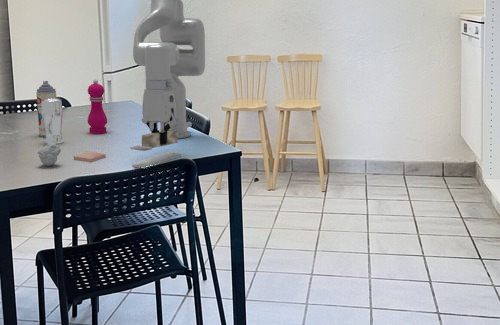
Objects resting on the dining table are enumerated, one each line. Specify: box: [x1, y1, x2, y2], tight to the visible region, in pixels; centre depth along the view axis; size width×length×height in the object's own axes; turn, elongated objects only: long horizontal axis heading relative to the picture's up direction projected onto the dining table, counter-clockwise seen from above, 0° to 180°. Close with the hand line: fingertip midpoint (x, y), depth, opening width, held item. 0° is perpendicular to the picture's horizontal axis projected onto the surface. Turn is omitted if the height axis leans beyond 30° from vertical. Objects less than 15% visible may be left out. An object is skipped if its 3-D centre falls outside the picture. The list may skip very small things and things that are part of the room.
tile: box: [73, 151, 106, 163], centre depth 209 cm, size 2×7×7 cm
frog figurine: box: [37, 143, 62, 167], centre depth 199 cm, size 6×7×7 cm
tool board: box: [131, 151, 182, 169], centre depth 206 cm, size 19×5×1 cm, turn 153°
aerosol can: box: [36, 80, 57, 138], centre depth 240 cm, size 7×7×20 cm
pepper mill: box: [87, 79, 108, 135], centre depth 246 cm, size 7×7×20 cm
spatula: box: [129, 130, 179, 152], centre depth 205 cm, size 20×5×4 cm, turn 153°
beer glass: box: [42, 98, 64, 145], centre depth 229 cm, size 7×7×15 cm
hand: (159, 143), depth 206 cm, fingers closed on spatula, 2 cm apart
